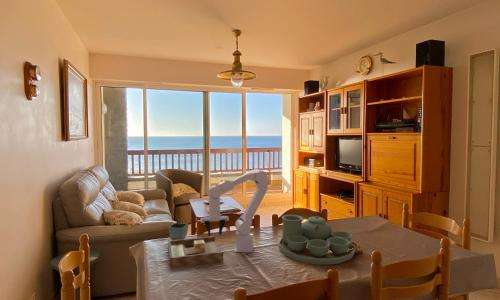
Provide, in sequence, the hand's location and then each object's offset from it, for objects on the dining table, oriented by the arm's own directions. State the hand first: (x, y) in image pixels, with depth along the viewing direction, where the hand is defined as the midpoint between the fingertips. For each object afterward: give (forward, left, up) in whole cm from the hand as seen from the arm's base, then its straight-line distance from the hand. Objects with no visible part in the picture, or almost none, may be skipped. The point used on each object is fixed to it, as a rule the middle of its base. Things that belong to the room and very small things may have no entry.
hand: (214, 234), depth 161 cm
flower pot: (+24, -16, -10) cm, 30 cm away
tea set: (-54, -8, -10) cm, 55 cm away
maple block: (+7, +3, -7) cm, 11 cm away
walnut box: (+9, +3, -9) cm, 14 cm away
